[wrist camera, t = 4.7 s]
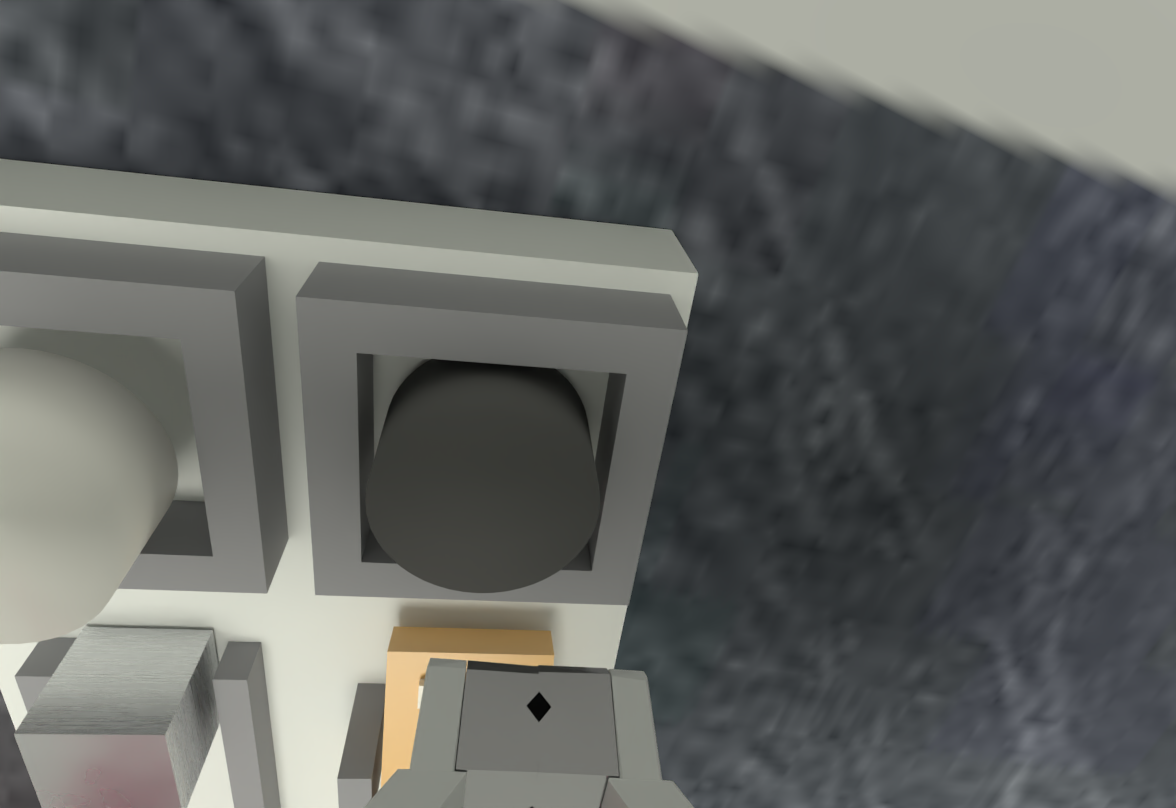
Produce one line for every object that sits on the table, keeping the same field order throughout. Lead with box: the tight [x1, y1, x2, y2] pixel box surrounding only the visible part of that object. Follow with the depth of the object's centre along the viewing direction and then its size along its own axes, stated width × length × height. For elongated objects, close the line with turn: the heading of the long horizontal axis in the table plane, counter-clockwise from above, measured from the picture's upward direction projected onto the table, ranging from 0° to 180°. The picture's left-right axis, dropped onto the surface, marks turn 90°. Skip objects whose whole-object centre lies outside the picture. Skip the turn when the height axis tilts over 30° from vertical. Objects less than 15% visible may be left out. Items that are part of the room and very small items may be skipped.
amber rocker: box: [381, 626, 554, 787], centre depth 19 cm, size 4×8×2 cm, turn 172°
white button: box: [0, 348, 178, 644], centre depth 13 cm, size 4×4×2 cm
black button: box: [365, 359, 600, 593], centre depth 15 cm, size 4×4×2 cm
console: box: [0, 159, 698, 808], centre depth 19 cm, size 16×20×6 cm
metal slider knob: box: [14, 627, 220, 808], centre depth 18 cm, size 3×3×3 cm
